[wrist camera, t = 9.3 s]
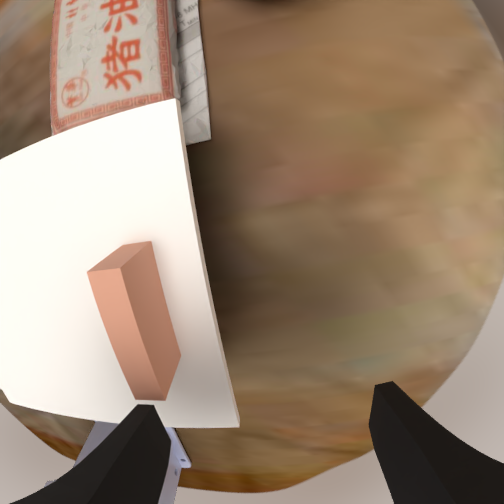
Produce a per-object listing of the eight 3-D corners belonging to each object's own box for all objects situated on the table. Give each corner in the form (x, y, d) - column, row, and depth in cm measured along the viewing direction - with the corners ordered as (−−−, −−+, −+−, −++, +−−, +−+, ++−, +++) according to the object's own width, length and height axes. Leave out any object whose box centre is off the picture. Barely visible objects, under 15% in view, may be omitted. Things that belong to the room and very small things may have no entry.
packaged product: (41, -61, 7) (182, -115, 7) (71, -36, 12) (194, -77, 11) (22, 181, 13) (200, 137, 12) (68, 173, 17) (215, 142, 17)
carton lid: (239, 418, 14) (235, 471, 11) (14, 397, 15) (-9, 426, 12) (179, 100, 10) (147, 80, 7) (-60, 197, 11) (-98, 209, 8)
